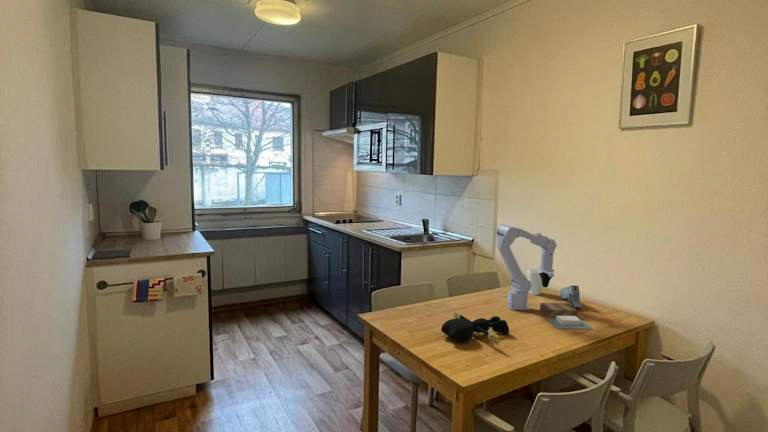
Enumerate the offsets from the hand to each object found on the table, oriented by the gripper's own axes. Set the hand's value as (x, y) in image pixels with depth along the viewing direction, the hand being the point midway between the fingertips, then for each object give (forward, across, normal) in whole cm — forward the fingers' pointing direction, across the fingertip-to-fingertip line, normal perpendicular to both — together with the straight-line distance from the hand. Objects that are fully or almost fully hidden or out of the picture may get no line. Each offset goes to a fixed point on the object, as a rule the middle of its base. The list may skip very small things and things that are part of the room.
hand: (545, 286), depth 221 cm
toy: (+10, -40, +45) cm, 61 cm away
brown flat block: (+10, -13, -2) cm, 16 cm away
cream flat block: (+8, -24, -2) cm, 25 cm away
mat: (+10, -25, -2) cm, 27 cm away
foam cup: (+10, +21, -3) cm, 23 cm away
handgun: (+10, +3, -15) cm, 18 cm away
